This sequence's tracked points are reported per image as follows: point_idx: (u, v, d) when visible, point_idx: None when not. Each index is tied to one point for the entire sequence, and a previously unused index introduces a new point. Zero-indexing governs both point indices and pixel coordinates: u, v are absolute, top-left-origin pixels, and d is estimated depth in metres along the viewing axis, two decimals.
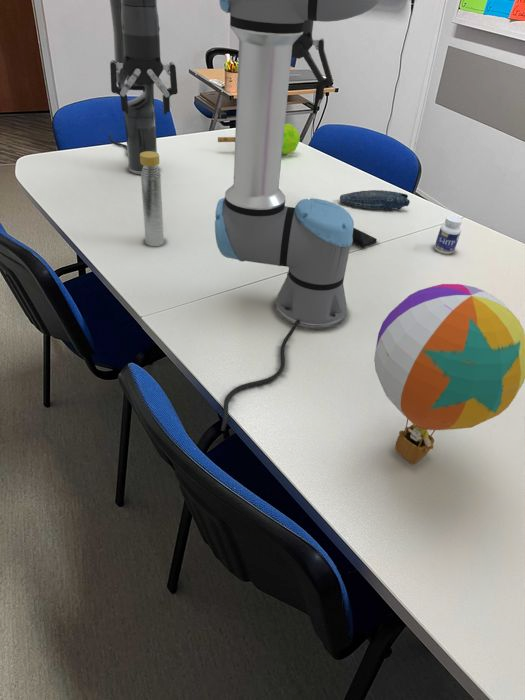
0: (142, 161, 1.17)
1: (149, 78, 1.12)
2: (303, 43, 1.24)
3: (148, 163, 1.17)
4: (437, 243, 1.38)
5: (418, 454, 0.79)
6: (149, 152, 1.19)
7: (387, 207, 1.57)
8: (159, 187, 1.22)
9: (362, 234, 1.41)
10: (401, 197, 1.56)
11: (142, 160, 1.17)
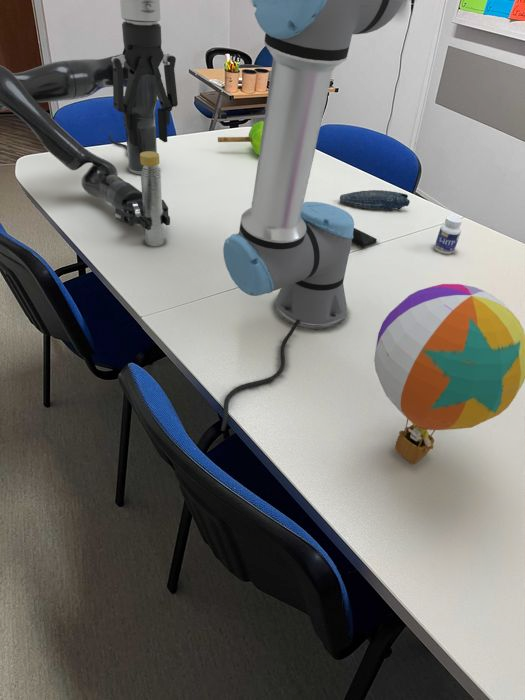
0: (142, 161, 1.17)
1: None
2: None
3: (148, 163, 1.17)
4: (437, 243, 1.38)
5: (418, 454, 0.79)
6: (149, 152, 1.19)
7: (387, 207, 1.57)
8: (159, 187, 1.22)
9: (362, 234, 1.41)
10: (401, 197, 1.56)
11: (142, 160, 1.17)
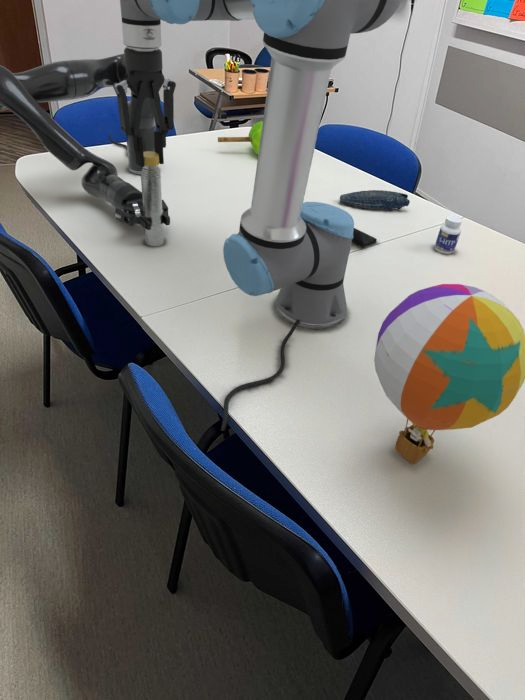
0: None
1: None
2: None
3: (148, 163, 1.17)
4: (437, 243, 1.38)
5: (418, 454, 0.79)
6: (149, 152, 1.19)
7: (387, 207, 1.57)
8: (159, 187, 1.22)
9: (362, 234, 1.41)
10: (401, 197, 1.56)
11: None
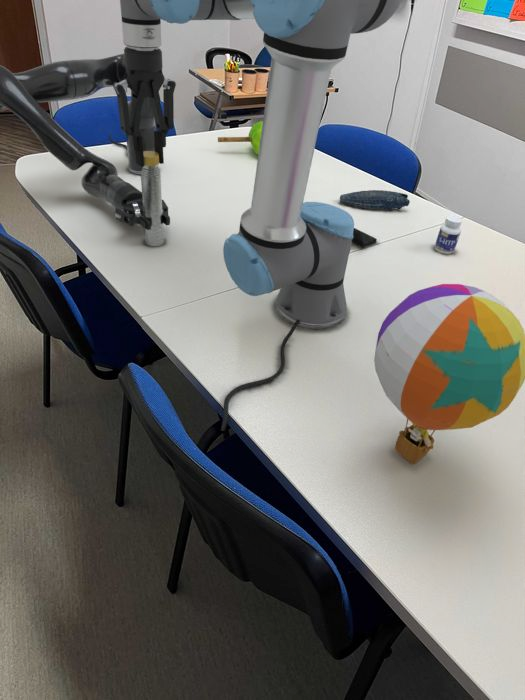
0: (155, 161, 1.18)
1: None
2: None
3: (158, 160, 1.19)
4: (437, 243, 1.38)
5: (418, 454, 0.79)
6: (143, 153, 1.18)
7: (387, 207, 1.57)
8: (159, 187, 1.22)
9: (362, 234, 1.41)
10: (401, 197, 1.56)
11: (155, 160, 1.18)
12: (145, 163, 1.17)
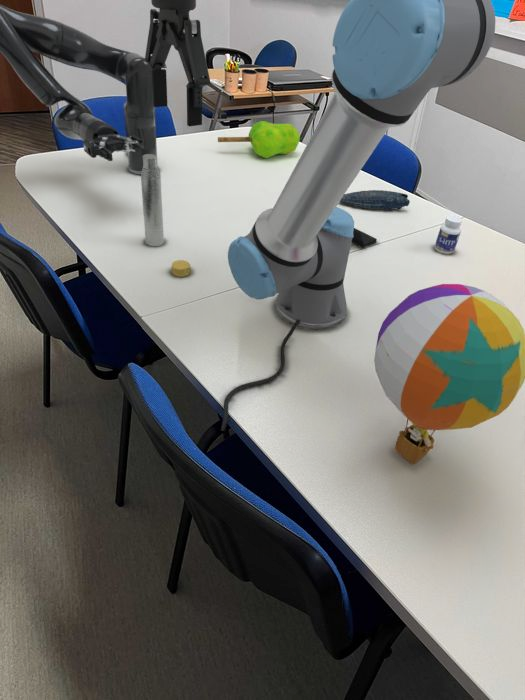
0: (187, 272, 1.20)
1: None
2: (174, 24, 0.88)
3: None
4: (437, 243, 1.38)
5: (418, 454, 0.79)
6: (175, 264, 1.20)
7: (387, 207, 1.57)
8: (159, 187, 1.22)
9: (362, 234, 1.41)
10: (401, 197, 1.56)
11: (187, 271, 1.20)
12: (177, 274, 1.19)
